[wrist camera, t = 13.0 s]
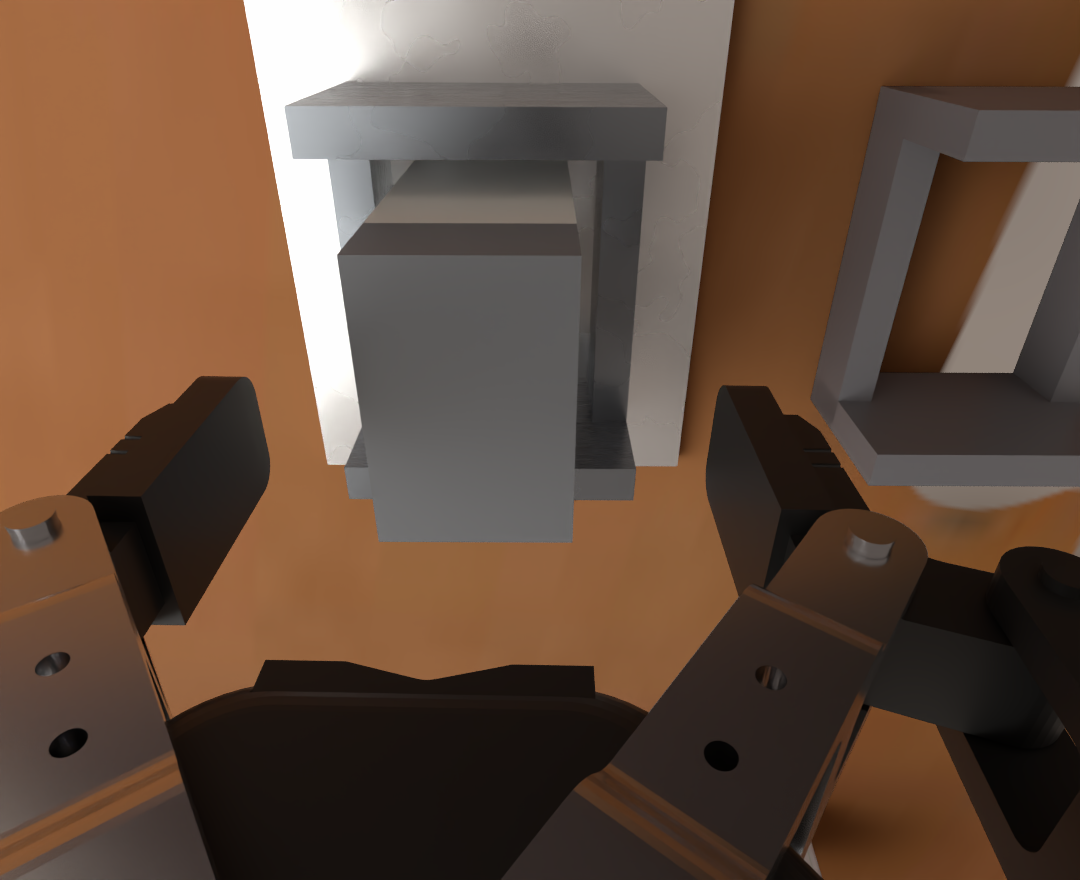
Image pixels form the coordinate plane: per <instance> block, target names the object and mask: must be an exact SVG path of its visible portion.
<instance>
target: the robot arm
mask: <svg viewBox="0 0 1080 880" xmlns="http://www.w3.org/2000/svg"><path fill="white" fill-rule="evenodd" d="M110 451H111V453H110V454H106V455H105V456H104V457H103V458H102V459H101V460H100V461H99V462H98V463H97V464H96V465H95V466H94V467H93V468H92V469H91V470H90V471H89V472H88V473H87V474H86V475H85V476H84V477H83V478H82V479H81V480H80V481H79V482H78V484H77V485H76V486H75V487H74V488H73V489H72V490H71V491H70V492H69V493H68V494H67V495H56V496H47V497H42V498H37V499H33V500H29V501H26V502H23V503H20V504H17V505H15V506H13V507H10V508H8V509H6V510H4V511H2V512H0V880H824V879H823V878H822V877H821V876H820V875H819V874H818V873H817V872H816V871H815V870H814V869H813V868H812V867H811V866H810V865H809V864H808V863H807V862H806V861H805V860H804V857H805V855H806V853H807V850H808V848H809V846H810V843H811V841H812V839H813V836H814V834H815V831H816V829H817V826H818V824H819V822H820V819H821V817H822V814H823V812H824V810H825V807H826V805H827V803H828V801H829V798H830V796H831V794H832V792H833V790H834V788H835V786H836V783H837V781H838V779H839V777H840V775H841V773H842V770H843V768H844V766H845V764H846V762H847V760H848V757H849V755H850V753H851V751H852V749H853V747H854V745H855V742H856V740H857V738H858V736H859V734H860V732H861V729H862V727H863V725H864V723H865V721H866V719H867V717H868V714H869V712H870V710H871V708H872V706H873V707H876V708H880V709H883V710H887V711H890V712H894V713H897V714H901V715H904V716H908V717H911V718H915V719H918V720H922V721H925V722H929V723H933V724H936V726H937V728H938V730H939V733H940V735H941V737H942V739H943V741H944V743H945V746H946V748H947V750H948V752H949V754H950V756H951V759H952V761H953V763H954V765H955V767H956V769H957V772H958V774H959V776H960V778H961V780H962V782H963V785H964V787H965V789H966V791H967V793H968V795H969V798H970V800H971V802H972V804H973V806H974V808H975V811H976V813H977V815H978V817H979V819H980V821H981V824H982V826H983V828H984V830H985V832H986V834H987V837H988V839H989V841H990V843H991V845H992V847H993V850H994V852H995V854H996V856H997V858H998V860H999V863H1000V865H1001V867H1002V869H1003V871H1004V873H1005V876H1006V878H1007V880H1080V557H1077V556H1075V555H1072V554H1069V553H1066V552H1062V551H1059V550H1055V549H1050V548H1044V547H1018V548H1015V549H1011V550H1009V551H1008V552H1006V553H1005V554H1004V555H1003V556H1002V557H1001V559H1000V562H999V564H998V566H997V568H996V570H995V573H990V572H985V571H981V570H976V569H972V568H967V567H963V566H958V565H954V564H949V563H945V562H941V561H938V560H934V559H931V558H928V552H927V549H926V546H925V544H924V543H923V541H922V540H921V539H920V538H919V536H918V535H917V534H916V533H915V532H913V531H912V530H911V529H910V528H908V527H907V526H905V525H904V524H902V523H900V522H898V521H896V520H895V519H892V518H890V517H888V516H885V515H882V514H879V513H876V512H872V511H870V510H869V508H868V507H867V505H866V503H865V502H864V500H863V499H862V497H861V496H860V494H859V492H858V491H857V489H856V488H855V486H854V484H853V483H852V481H851V480H850V478H849V476H848V475H847V473H846V472H845V470H844V468H841V467H840V465H841V464H840V462H839V460H838V459H837V457H836V456H835V454H834V453H831V448H830V446H829V445H828V443H827V441H826V440H825V438H824V437H823V435H822V433H821V432H820V431H819V430H818V429H817V428H815V427H814V426H812V425H811V424H810V423H808V422H807V421H805V420H804V419H803V418H801V417H800V416H798V415H783V413H782V411H781V409H780V407H779V406H778V404H777V402H776V400H775V399H774V397H773V395H772V393H771V392H770V390H769V388H768V387H767V386H724V385H723V386H721V388H720V390H719V392H718V396H717V401H716V407H715V413H714V420H713V426H712V432H711V439H710V445H709V452H708V458H707V465H706V490H707V496H708V500H709V503H710V507H711V510H712V513H713V516H714V519H715V522H716V526H717V529H718V532H719V535H720V538H721V542H722V545H723V548H724V551H725V554H726V557H727V561H728V564H729V567H730V570H731V573H732V576H733V580H734V583H735V586H736V589H737V592H738V595H739V597H738V599H737V600H736V601H735V603H734V604H733V605H732V606H731V608H730V609H729V610H728V612H727V613H726V614H725V615H724V617H723V618H722V619H721V621H720V622H719V623H718V624H717V626H716V627H715V628H714V630H713V631H712V632H711V633H710V635H709V636H708V637H707V639H706V640H705V641H704V642H703V644H702V645H701V646H700V648H699V649H698V650H697V651H696V653H695V654H694V655H693V657H692V658H691V659H690V660H689V662H688V663H687V664H686V666H685V667H684V668H683V669H682V671H681V672H680V673H679V675H678V676H677V677H676V678H675V680H674V681H673V682H672V683H671V685H670V686H669V687H668V689H667V690H666V691H665V692H664V694H663V695H662V696H661V698H660V699H659V700H658V701H657V703H656V704H655V705H654V707H653V708H652V709H651V710H650V712H649V713H648V712H647V711H645V710H643V709H641V708H639V707H637V706H635V705H633V704H631V703H628V702H626V701H623V700H620V699H618V698H615V697H612V696H609V695H606V694H602V693H598V692H595V681H594V666H560V665H508V666H503V667H498V668H492V669H487V670H482V671H476V672H471V673H466V674H461V675H455V676H450V677H445V678H440V679H434V680H420V679H415V678H411V677H407V676H403V675H399V674H395V673H391V672H387V671H383V670H379V669H375V668H370V667H366V666H362V665H358V664H354V663H350V662H346V661H295V660H265V662H264V665H263V667H262V669H261V671H260V674H259V676H258V678H257V681H256V683H255V685H254V686H253V687H249V688H244V689H240V690H237V691H233V692H230V693H226V694H223V695H221V696H218V697H215V698H213V699H210V700H208V701H205V702H203V703H201V704H199V705H196V706H194V707H192V708H190V709H188V710H186V711H184V712H182V713H181V714H179V715H177V716H175V717H174V718H173V717H172V714H171V711H170V708H169V706H168V703H167V700H166V697H165V694H164V691H163V688H162V686H161V683H160V680H159V677H158V674H157V671H156V669H155V666H154V663H153V660H152V657H151V654H150V652H149V649H148V646H147V644H146V641H145V639H144V635H145V634H146V632H147V631H148V629H149V627H150V626H151V625H186V623H187V621H188V620H189V618H190V616H191V615H192V613H193V611H194V610H195V608H196V606H197V604H198V603H199V601H200V599H201V598H202V596H203V594H204V593H205V591H206V589H207V588H208V586H209V584H210V583H211V581H212V579H213V577H214V576H215V574H216V572H217V571H218V569H219V567H220V566H221V564H222V562H223V561H224V559H225V557H226V556H227V554H228V552H229V550H230V549H231V547H232V545H233V544H234V542H235V540H236V539H237V537H238V535H239V534H240V532H241V530H242V528H243V527H244V525H245V523H246V522H247V520H248V518H249V517H250V515H251V513H252V512H253V510H254V508H255V507H256V505H257V503H258V501H259V500H260V498H261V496H262V495H263V493H264V491H265V489H266V487H267V484H268V480H269V474H270V458H269V452H268V447H267V443H266V438H265V434H264V429H263V425H262V420H261V416H260V411H259V407H258V402H257V397H256V393H255V389H254V387H253V384H252V382H251V381H250V380H249V379H248V378H247V377H221V376H201V377H199V378H197V379H196V380H195V381H194V382H193V384H192V385H191V386H190V387H189V388H188V389H187V390H186V391H185V392H184V393H183V394H182V395H181V396H180V397H179V398H178V399H177V400H176V401H175V402H174V404H168V405H166V406H164V407H162V408H160V409H158V410H157V411H155V412H153V413H151V414H149V415H148V416H146V417H144V418H142V419H141V420H140V421H139V422H138V423H137V424H136V425H135V426H134V427H133V428H132V429H131V430H130V431H129V432H128V433H127V434H126V435H125V440H124V439H121V440H120V441H119V442H118V443H117V444H116V445H115V446H114V447H113V448H112V449H111V450H110ZM1065 728H1066V730H1067V731H1068V733H1069V735H1070V736H1071V738H1072V739H1073V741H1074V742H1073V741H1072V739H1071V738H1070V736H1069V735H1068V733H1067V731H1066V730H1065ZM1074 743H1075V744H1074ZM1075 745H1076V746H1075Z"/></svg>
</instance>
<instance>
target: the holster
mask: <svg viewBox="0 0 1080 880" xmlns="http://www.w3.org/2000/svg"><path fill="white" fill-rule="evenodd" d="M940 153H942V154H945V155H948V156H950V157H953V158H956V159H958V160H961V161H964V162H1080V87H961V86H881V89H880V93H879V98H878V102H877V107H876V111H875V116H874V120H873V124H872V129H871V133H870V138H869V142H868V147H867V151H866V155H865V160H864V164H863V169H862V173H861V178H860V182H859V186H858V191H857V195H856V200H855V204H854V209H853V213H852V218H851V222H850V226H849V231H848V235H847V240H846V244H845V249H844V253H843V257H842V262H841V266H840V271H839V275H838V280H837V284H836V288H835V293H834V297H833V302H832V306H831V311H830V315H829V319H828V324H827V328H826V333H825V337H824V342H823V346H822V350H821V355H820V359H819V364H818V368H817V373H816V377H815V381H814V386H813V390H812V395H811V401H812V402H813V404H814V405H815V407H816V408H817V410H818V411H819V413H820V414H821V416H822V417H823V419H824V420H825V422H826V423H827V425H828V426H829V428H830V429H831V431H832V432H833V434H834V435H835V436H836V438H837V439H838V441H839V442H840V444H841V445H842V447H843V448H844V450H845V451H846V453H847V454H848V456H849V457H850V459H851V460H852V462H853V463H854V465H855V466H856V468H857V469H858V471H859V472H860V474H861V475H862V477H863V478H864V480H865V481H866V483H867V484H868V485H869V486H1075V487H1080V200H1079V203H1078V205H1077V208H1076V211H1075V213H1074V216H1073V218H1072V221H1071V224H1070V226H1069V229H1068V231H1067V234H1066V237H1065V239H1064V242H1063V244H1062V247H1061V250H1060V252H1059V255H1058V257H1057V260H1056V263H1055V265H1054V268H1053V270H1052V273H1051V276H1050V278H1049V281H1048V284H1047V286H1046V289H1045V291H1044V294H1043V297H1042V299H1041V302H1040V304H1039V307H1038V309H1037V312H1036V315H1035V317H1034V320H1033V323H1032V325H1031V328H1030V330H1029V333H1028V336H1027V338H1026V341H1025V343H1024V346H1023V349H1022V351H1021V354H1020V356H1019V359H1018V362H1017V364H1016V367H1015V369H1014V372H1013V373H879V371H880V368H881V364H882V361H883V357H884V353H885V350H886V346H887V342H888V339H889V335H890V332H891V328H892V324H893V321H894V317H895V313H896V310H897V306H898V303H899V299H900V295H901V292H902V288H903V284H904V281H905V277H906V274H907V270H908V266H909V263H910V259H911V256H912V252H913V248H914V245H915V241H916V237H917V234H918V230H919V227H920V223H921V219H922V216H923V212H924V208H925V205H926V201H927V198H928V194H929V190H930V187H931V183H932V179H933V176H934V172H935V169H936V165H937V161H938V158H939V154H940Z"/></svg>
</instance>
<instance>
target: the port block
mask: <svg viewBox="0 0 1080 880" xmlns="http://www.w3.org/2000/svg"><path fill="white" fill-rule="evenodd" d="M244 4H245V10H246V15H247V21H248V26H249V32H250V37H251V43H252V48H253V54H254V59H255V65H256V70H257V76H258V81H259V87H260V92H261V98H262V103H263V109H264V115H265V120H266V126H267V131H268V137H269V142H270V148H271V153H272V159H273V164H274V170H275V175H276V181H277V186H278V192H279V197H280V203H281V208H282V214H283V220H284V225H285V231H286V236H287V242H288V247H289V253H290V258H291V264H292V269H293V275H294V280H295V286H296V291H297V297H298V302H299V308H300V313H301V319H302V324H303V330H304V336H305V341H306V347H307V352H308V358H309V363H310V369H311V374H312V380H313V385H314V391H315V396H316V402H317V407H318V413H319V418H320V424H321V429H322V435H323V440H324V446H325V452H326V457H327V463H328V465H345V467H344V469H345V475H346V481H347V487H348V493H349V499H373V498H372V491H371V485H370V478H369V471H368V464H367V457H366V451H365V444H364V437H363V430H362V424H361V417H360V410H359V403H358V396H357V390H356V383H355V376H354V369H353V363H352V356H351V349H350V342H349V335H348V329H347V322H346V315H345V308H344V302H343V295H342V288H341V281H340V274H339V268H338V261H337V254H338V253H339V252H340V250H341V249H342V248H343V247H344V245H345V244H346V243H347V242H348V241H349V239H350V238H351V237H352V236H353V235H354V233H355V232H356V231H357V230H358V228H359V227H360V226H361V225H362V224H363V222H364V221H365V220H366V219H367V217H368V216H369V215H370V214H371V213H372V211H373V210H374V209H375V208H376V207H377V205H378V204H379V203H380V202H381V200H382V199H383V198H384V197H385V196H386V194H387V193H388V192H389V191H390V190H391V188H392V187H393V186H394V185H395V183H396V182H397V181H398V180H399V179H400V177H401V176H402V175H403V174H404V172H405V171H406V170H407V169H408V168H409V166H410V165H411V164H412V163H413V162H414V160H567V162H568V168H569V175H570V182H571V188H572V195H573V202H574V208H575V215H576V222H577V228H578V235H579V241H580V248H581V255H582V261H581V291H580V322H579V352H578V383H577V414H576V444H575V475H574V500H633V497H634V486H635V474H636V467H635V466H677V464H678V456H679V448H680V440H681V432H682V424H683V415H684V407H685V399H686V391H687V383H688V375H689V367H690V359H691V350H692V342H693V334H694V326H695V318H696V310H697V302H698V293H699V285H700V277H701V269H702V261H703V253H704V245H705V236H706V228H707V220H708V212H709V204H710V196H711V188H712V180H713V171H714V163H715V155H716V147H717V139H718V131H719V123H720V114H721V106H722V98H723V90H724V82H725V74H726V66H727V57H728V49H729V41H730V33H731V25H732V17H733V9H734V0H244Z"/></svg>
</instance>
